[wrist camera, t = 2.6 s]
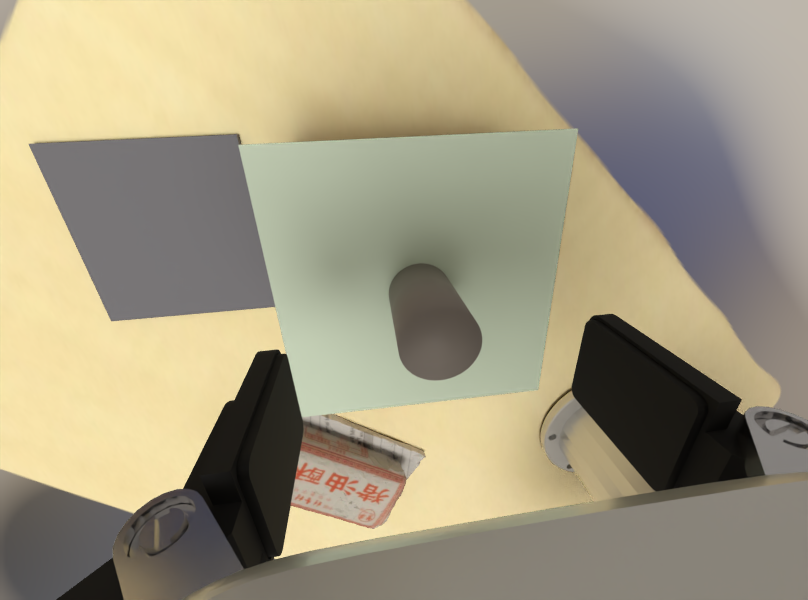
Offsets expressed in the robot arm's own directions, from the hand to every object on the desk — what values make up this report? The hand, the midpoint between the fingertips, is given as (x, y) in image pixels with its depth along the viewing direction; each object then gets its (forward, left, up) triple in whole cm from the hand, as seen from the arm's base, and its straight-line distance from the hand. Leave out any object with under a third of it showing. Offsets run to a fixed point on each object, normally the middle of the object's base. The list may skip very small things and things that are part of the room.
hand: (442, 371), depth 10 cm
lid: (0, 0, -9) cm, 9 cm away
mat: (+16, -2, -16) cm, 23 cm away
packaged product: (+8, +21, -17) cm, 28 cm away
